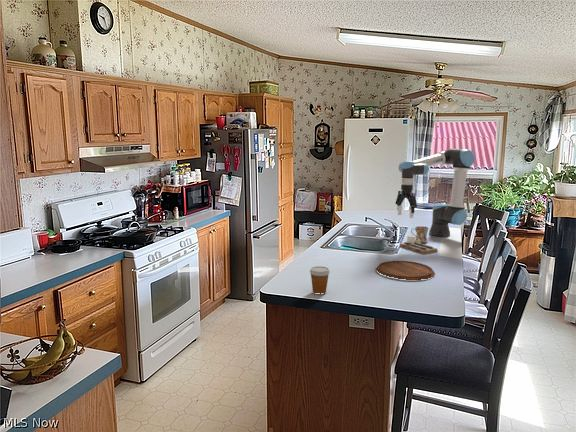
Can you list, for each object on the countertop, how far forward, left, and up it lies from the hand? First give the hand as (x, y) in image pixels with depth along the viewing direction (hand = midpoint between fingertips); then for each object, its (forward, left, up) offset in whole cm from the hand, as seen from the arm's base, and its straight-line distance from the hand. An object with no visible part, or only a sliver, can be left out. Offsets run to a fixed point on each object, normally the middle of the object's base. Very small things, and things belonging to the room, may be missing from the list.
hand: (405, 216), depth 310 cm
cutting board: (+43, +46, -21) cm, 66 cm away
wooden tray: (0, +13, -20) cm, 24 cm away
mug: (-15, -1, -20) cm, 25 cm away
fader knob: (0, +6, -18) cm, 19 cm away
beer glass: (+103, +51, -20) cm, 117 cm away
